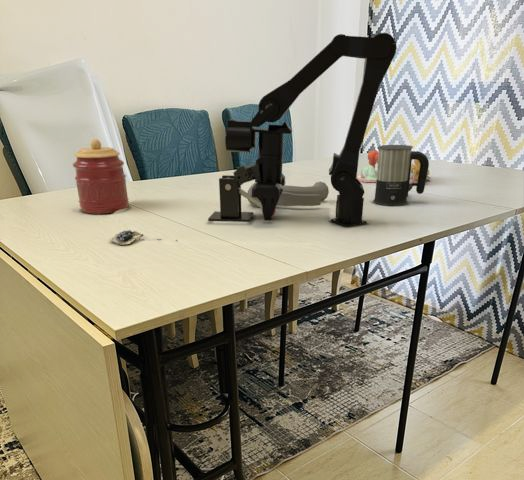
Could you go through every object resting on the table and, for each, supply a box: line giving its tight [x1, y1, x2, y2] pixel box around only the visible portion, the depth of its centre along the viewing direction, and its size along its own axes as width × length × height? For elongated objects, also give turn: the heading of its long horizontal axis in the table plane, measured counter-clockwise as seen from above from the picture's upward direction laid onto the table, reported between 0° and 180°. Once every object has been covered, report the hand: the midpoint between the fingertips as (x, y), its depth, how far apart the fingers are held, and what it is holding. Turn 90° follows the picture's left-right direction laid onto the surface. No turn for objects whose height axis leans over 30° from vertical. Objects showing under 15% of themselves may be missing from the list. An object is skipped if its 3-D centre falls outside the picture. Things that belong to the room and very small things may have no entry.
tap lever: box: [228, 177, 277, 217], centre depth 125 cm, size 14×3×3 cm
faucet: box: [247, 181, 330, 208], centre depth 144 cm, size 7×21×26 cm
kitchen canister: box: [72, 138, 130, 215], centre depth 135 cm, size 13×13×18 cm
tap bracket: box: [207, 174, 254, 223], centre depth 125 cm, size 10×8×10 cm
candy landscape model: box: [356, 149, 432, 184], centre depth 174 cm, size 25×24×9 cm
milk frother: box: [373, 144, 430, 206], centre depth 144 cm, size 14×16×15 cm
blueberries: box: [110, 229, 144, 246], centre depth 112 cm, size 7×8×2 cm
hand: (268, 220), depth 127 cm, fingers closed on tap lever, 3 cm apart
